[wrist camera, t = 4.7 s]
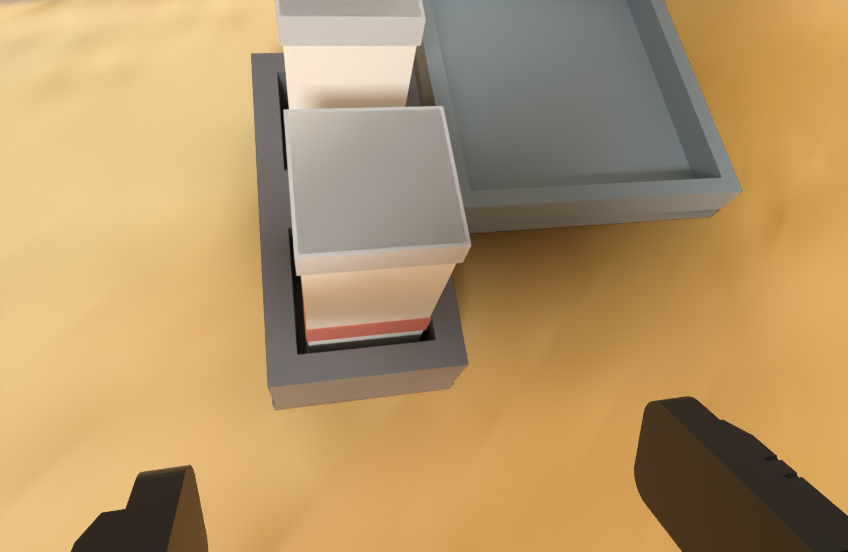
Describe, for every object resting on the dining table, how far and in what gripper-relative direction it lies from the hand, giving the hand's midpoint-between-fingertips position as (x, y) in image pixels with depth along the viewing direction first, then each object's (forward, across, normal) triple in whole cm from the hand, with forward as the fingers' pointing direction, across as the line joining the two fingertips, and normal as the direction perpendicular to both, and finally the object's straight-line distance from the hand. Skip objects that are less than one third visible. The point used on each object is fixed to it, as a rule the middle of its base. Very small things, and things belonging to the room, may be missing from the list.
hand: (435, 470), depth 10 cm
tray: (+22, -12, -4) cm, 25 cm away
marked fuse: (+13, 0, +3) cm, 14 cm away
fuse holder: (+17, 0, +1) cm, 17 cm away
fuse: (+18, 0, -2) cm, 19 cm away
